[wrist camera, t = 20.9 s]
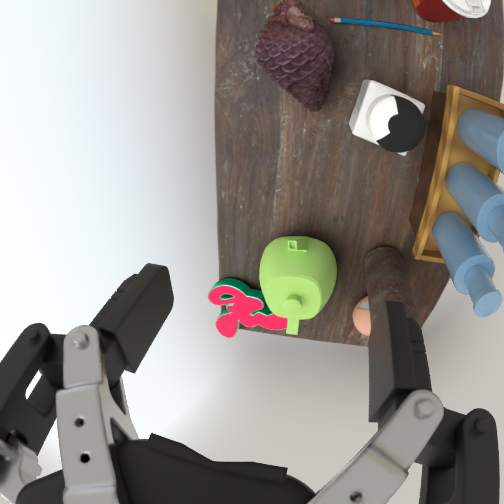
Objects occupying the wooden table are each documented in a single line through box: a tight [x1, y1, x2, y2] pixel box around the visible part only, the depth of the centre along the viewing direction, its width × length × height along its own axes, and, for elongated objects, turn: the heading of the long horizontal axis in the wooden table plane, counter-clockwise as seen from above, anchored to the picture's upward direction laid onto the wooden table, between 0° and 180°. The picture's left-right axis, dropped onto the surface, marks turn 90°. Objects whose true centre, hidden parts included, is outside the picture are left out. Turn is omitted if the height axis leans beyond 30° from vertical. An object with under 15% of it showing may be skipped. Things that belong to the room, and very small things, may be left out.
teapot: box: [260, 236, 337, 335], centre depth 50 cm, size 20×13×13 cm
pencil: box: [330, 18, 441, 36], centre depth 30 cm, size 1×17×1 cm, turn 94°
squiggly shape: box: [208, 278, 288, 338], centre depth 63 cm, size 20×16×2 cm
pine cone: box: [256, 0, 335, 112], centre depth 33 cm, size 18×10×10 cm
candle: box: [364, 247, 421, 328], centre depth 43 cm, size 8×7×20 cm
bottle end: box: [432, 211, 502, 317], centre depth 30 cm, size 6×6×16 cm
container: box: [349, 80, 425, 156], centre depth 33 cm, size 8×8×13 cm
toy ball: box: [353, 296, 371, 336], centre depth 54 cm, size 8×8×8 cm
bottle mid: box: [445, 161, 504, 252], centre depth 26 cm, size 6×6×16 cm
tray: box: [409, 85, 504, 264], centre depth 35 cm, size 25×9×10 cm, turn 179°
